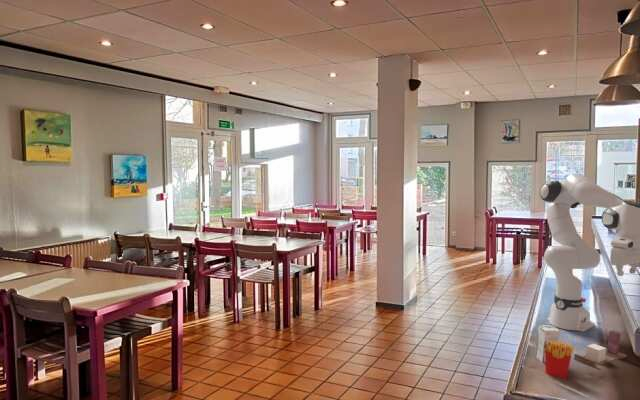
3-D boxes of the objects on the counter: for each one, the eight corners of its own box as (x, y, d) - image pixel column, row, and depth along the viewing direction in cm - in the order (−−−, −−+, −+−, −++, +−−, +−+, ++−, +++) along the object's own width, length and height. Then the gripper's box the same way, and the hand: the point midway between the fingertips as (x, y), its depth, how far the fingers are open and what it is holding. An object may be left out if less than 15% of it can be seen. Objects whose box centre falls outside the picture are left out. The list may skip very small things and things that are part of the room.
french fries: (542, 376, 188) (545, 342, 187) (544, 371, 192) (547, 339, 190) (569, 382, 183) (573, 348, 182) (571, 378, 187) (574, 344, 186)
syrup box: (549, 359, 203) (552, 324, 202) (556, 366, 197) (559, 330, 196) (535, 359, 203) (538, 324, 201) (542, 365, 197) (545, 329, 196)
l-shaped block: (606, 350, 214) (609, 327, 213) (626, 357, 208) (628, 334, 207) (573, 361, 202) (576, 337, 201) (593, 369, 195) (596, 344, 194)
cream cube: (592, 355, 206) (593, 343, 205) (604, 360, 202) (606, 348, 201) (585, 357, 203) (586, 345, 203) (597, 362, 199) (599, 350, 199)
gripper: (634, 238, 214) (631, 270, 216) (608, 241, 204) (605, 275, 205) (650, 240, 209) (647, 273, 211) (624, 244, 198) (621, 278, 200)
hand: (626, 274), depth 208 cm, fingers open, 8 cm apart
